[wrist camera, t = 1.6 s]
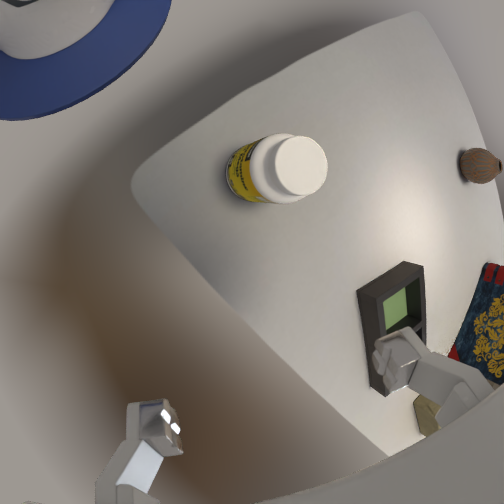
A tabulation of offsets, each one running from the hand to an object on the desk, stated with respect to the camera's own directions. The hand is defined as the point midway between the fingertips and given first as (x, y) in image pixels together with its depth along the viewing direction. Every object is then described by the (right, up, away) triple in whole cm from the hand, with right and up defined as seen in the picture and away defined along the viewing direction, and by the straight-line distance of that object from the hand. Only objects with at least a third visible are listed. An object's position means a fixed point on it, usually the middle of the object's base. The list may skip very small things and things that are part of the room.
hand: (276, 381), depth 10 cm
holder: (+21, -8, +34) cm, 41 cm away
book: (+51, -9, +46) cm, 69 cm away
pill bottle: (-1, +13, +22) cm, 26 cm away
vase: (+41, +22, +37) cm, 59 cm away
